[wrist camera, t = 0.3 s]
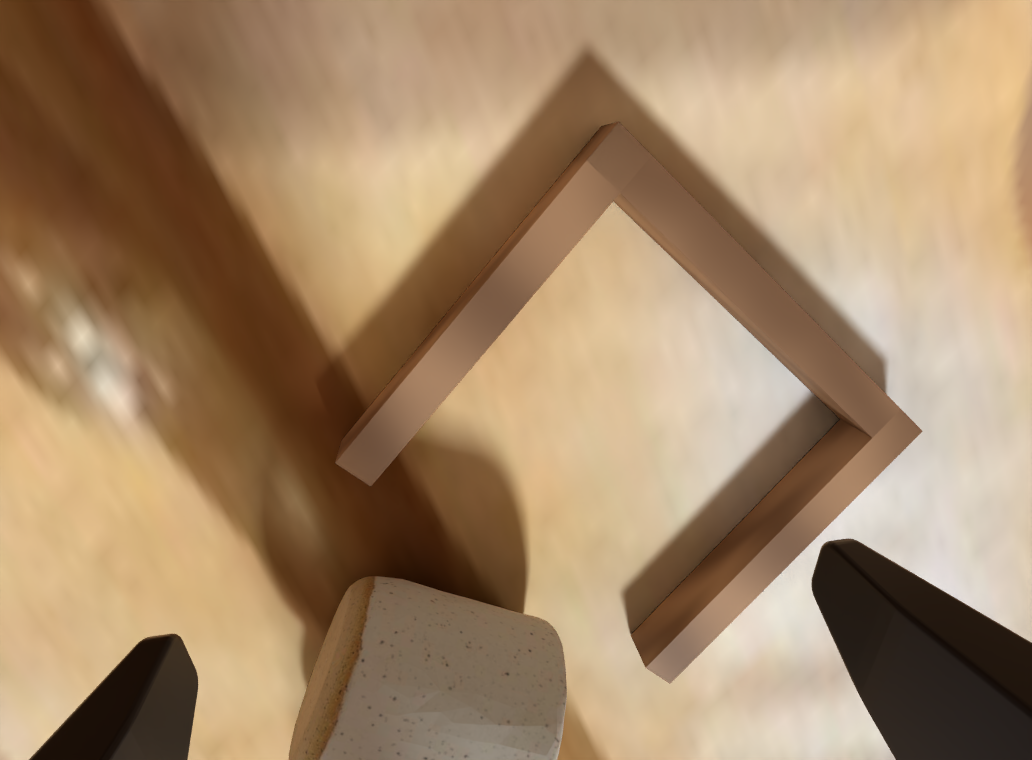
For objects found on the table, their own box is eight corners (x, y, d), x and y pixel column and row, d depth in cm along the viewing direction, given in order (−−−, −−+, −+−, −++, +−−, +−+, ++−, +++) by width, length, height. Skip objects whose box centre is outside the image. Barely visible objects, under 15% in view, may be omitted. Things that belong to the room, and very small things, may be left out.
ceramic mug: (361, 527, 25) (336, 676, 18) (548, 581, 27) (594, 734, 20) (279, 731, 28) (228, 932, 20) (455, 766, 30) (466, 961, 22)
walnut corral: (653, 650, 29) (670, 683, 27) (341, 440, 24) (335, 462, 22) (887, 413, 27) (922, 431, 25) (601, 126, 22) (618, 121, 20)
